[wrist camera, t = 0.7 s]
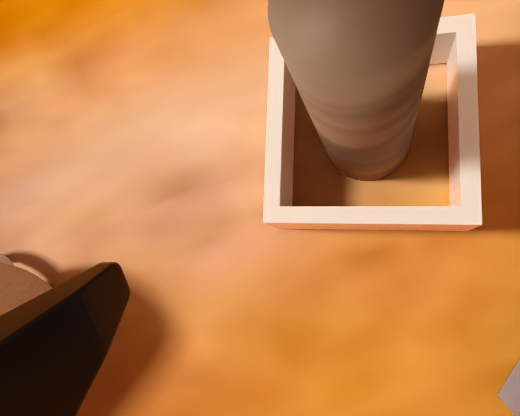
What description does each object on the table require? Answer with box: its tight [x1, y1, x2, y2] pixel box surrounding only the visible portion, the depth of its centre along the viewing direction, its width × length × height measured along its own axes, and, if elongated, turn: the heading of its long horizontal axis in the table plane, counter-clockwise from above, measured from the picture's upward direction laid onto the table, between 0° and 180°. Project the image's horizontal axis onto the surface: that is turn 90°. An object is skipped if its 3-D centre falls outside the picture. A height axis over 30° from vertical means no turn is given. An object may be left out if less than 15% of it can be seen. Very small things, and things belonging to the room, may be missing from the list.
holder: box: [263, 14, 482, 231], centre depth 21 cm, size 10×10×3 cm
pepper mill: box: [268, 0, 444, 181], centre depth 17 cm, size 4×4×12 cm
